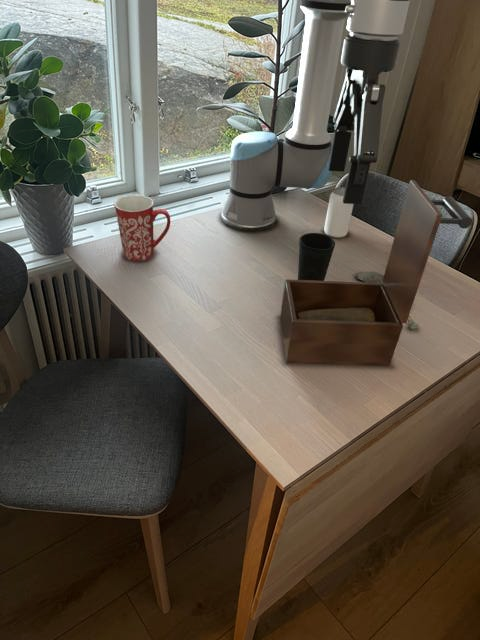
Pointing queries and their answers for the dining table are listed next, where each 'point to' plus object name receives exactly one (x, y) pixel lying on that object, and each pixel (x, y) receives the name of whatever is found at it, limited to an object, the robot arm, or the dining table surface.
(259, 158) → the robot arm
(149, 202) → the mug
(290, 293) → the chest
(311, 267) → the cup
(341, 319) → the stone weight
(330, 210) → the can
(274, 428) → the dining table surface
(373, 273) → the soupspoon
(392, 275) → the lid
